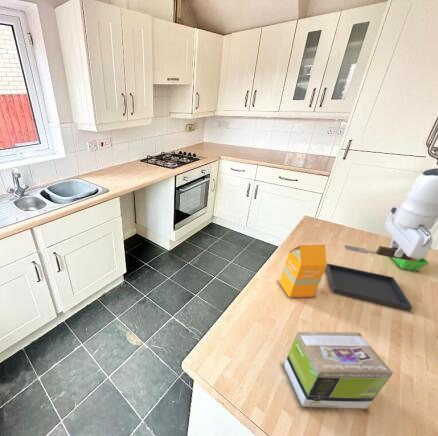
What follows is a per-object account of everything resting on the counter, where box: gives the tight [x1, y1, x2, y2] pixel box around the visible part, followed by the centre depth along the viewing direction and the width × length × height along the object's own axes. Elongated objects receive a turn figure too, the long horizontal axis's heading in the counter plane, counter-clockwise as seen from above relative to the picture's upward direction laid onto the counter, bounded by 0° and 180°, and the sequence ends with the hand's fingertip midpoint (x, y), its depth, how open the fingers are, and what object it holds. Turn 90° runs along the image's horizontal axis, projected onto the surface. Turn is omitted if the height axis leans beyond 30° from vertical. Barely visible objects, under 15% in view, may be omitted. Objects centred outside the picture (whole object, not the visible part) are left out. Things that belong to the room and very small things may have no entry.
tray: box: [325, 262, 413, 312], centre depth 90 cm, size 21×15×2 cm
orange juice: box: [279, 244, 328, 298], centre depth 85 cm, size 8×9×20 cm
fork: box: [343, 244, 412, 261], centre depth 86 cm, size 18×3×3 cm, turn 66°
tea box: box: [283, 331, 394, 410], centre depth 58 cm, size 15×10×15 cm, turn 88°
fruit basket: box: [391, 246, 432, 272], centre depth 99 cm, size 11×9×11 cm
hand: (394, 253), depth 84 cm, fingers closed on fork
